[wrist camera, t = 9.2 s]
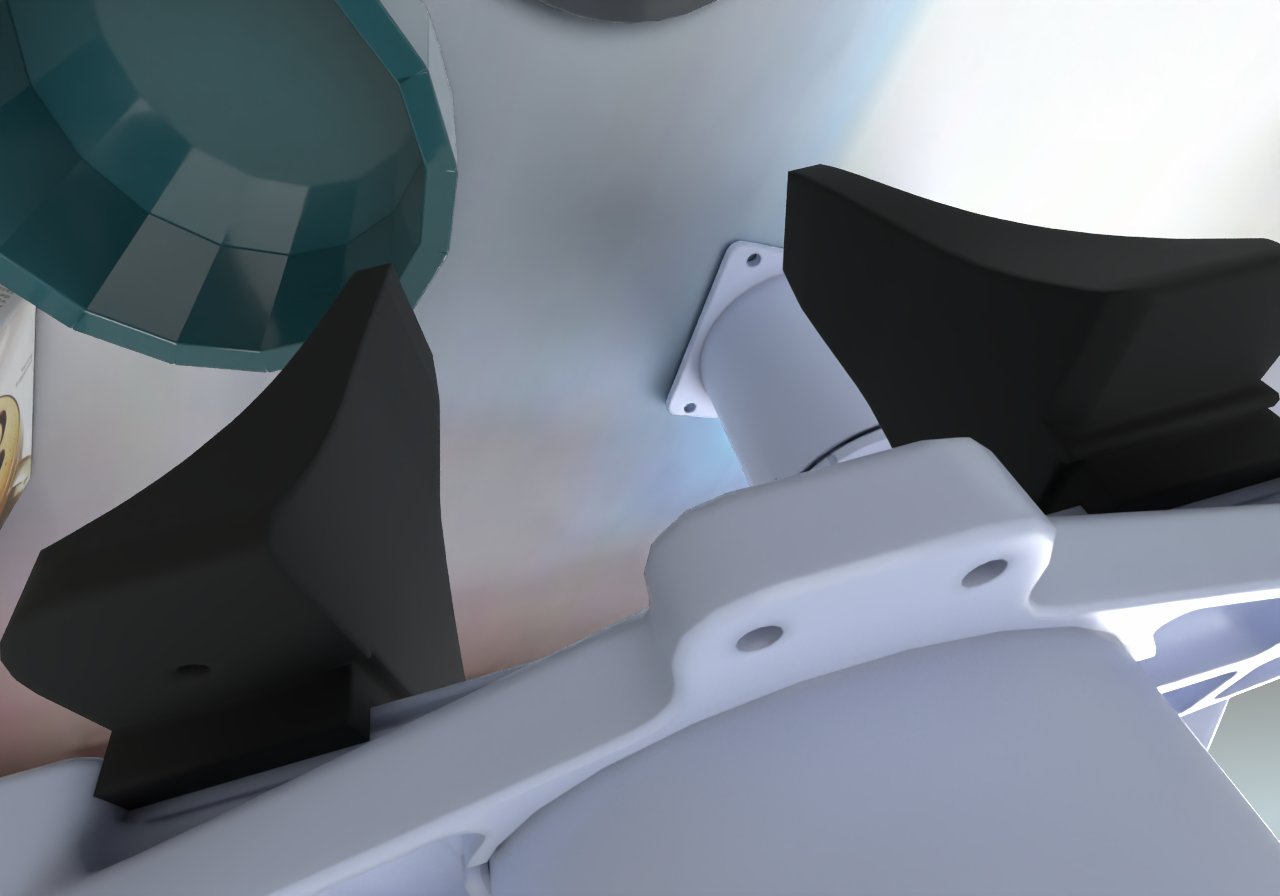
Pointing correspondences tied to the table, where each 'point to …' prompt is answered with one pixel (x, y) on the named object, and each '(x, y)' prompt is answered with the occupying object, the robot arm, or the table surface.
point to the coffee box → (15, 396)
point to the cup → (219, 166)
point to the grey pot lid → (627, 9)
